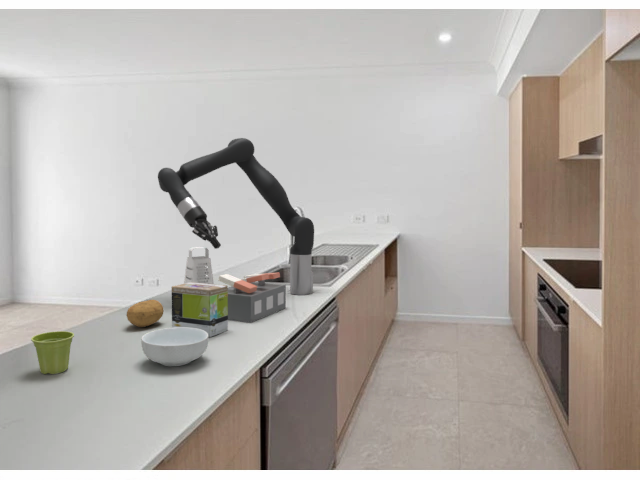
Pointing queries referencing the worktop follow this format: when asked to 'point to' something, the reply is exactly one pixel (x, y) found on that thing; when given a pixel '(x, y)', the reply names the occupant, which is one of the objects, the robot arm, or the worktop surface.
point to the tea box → (200, 307)
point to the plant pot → (53, 351)
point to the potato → (145, 313)
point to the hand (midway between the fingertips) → (218, 247)
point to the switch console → (256, 301)
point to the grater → (198, 268)
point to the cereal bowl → (174, 345)
